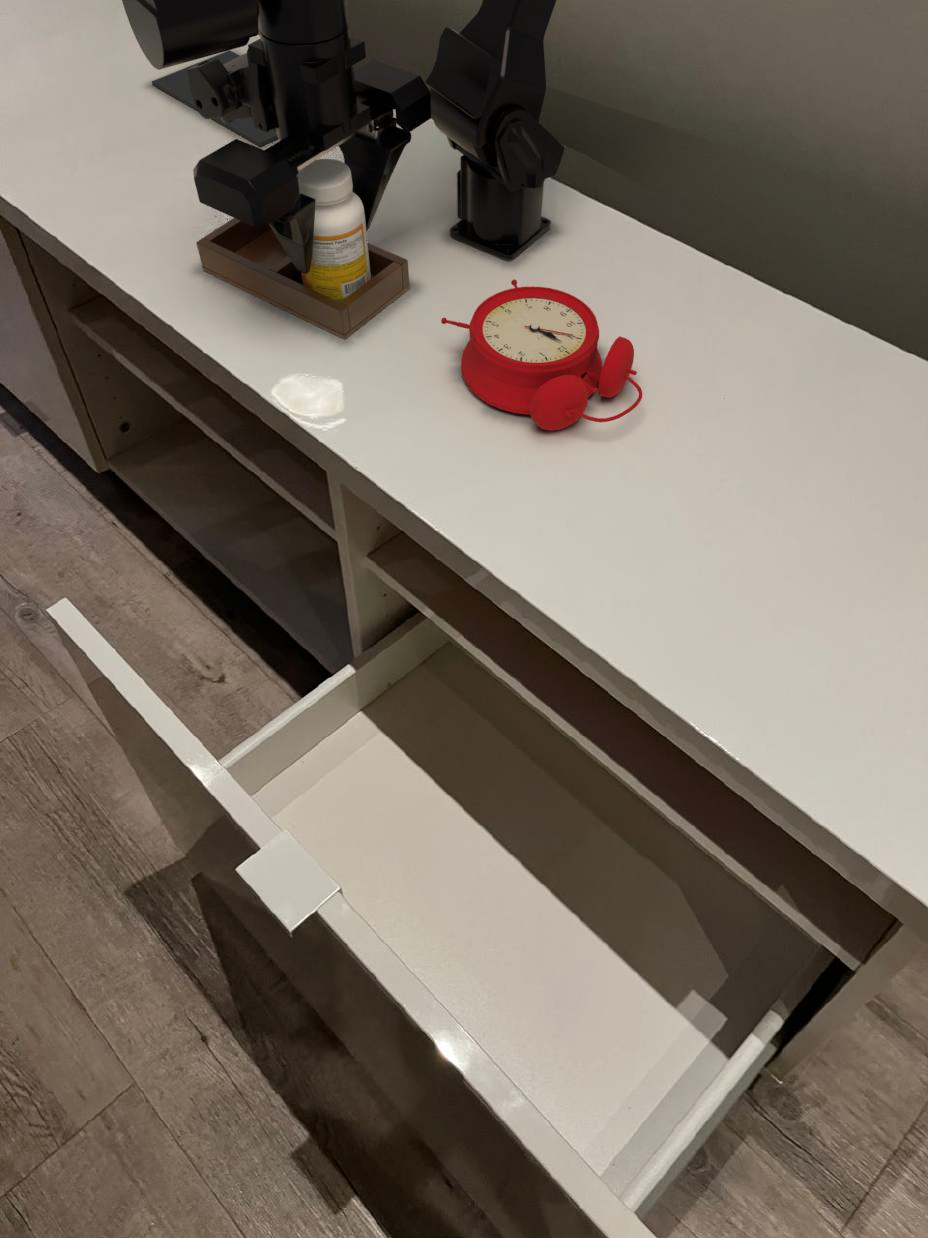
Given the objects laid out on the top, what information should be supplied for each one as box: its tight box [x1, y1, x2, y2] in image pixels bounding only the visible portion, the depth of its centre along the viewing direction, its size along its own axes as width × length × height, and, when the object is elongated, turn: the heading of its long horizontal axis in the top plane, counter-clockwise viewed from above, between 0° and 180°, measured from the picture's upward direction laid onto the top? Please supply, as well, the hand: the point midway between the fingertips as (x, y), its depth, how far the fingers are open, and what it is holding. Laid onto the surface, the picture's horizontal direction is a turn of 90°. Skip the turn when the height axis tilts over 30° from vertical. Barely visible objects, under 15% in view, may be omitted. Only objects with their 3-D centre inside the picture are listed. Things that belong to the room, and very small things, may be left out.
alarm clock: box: [440, 278, 643, 432], centre depth 66 cm, size 10×6×15 cm
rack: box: [195, 217, 410, 340], centre depth 74 cm, size 8×15×3 cm, turn 54°
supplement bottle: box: [298, 158, 371, 302], centre depth 70 cm, size 5×5×10 cm
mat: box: [151, 50, 280, 148], centre depth 94 cm, size 18×10×1 cm, turn 45°
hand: (333, 249), depth 71 cm, fingers open, 7 cm apart
